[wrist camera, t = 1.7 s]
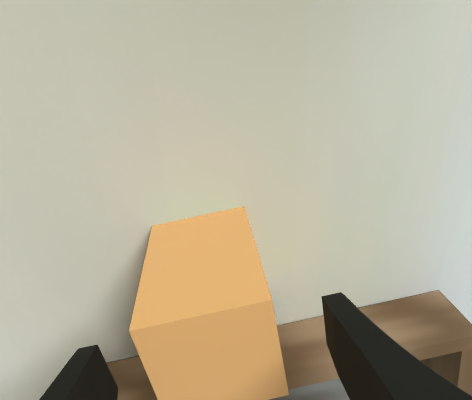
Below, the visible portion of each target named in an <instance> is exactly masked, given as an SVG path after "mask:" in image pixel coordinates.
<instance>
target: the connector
mask: <svg viewBox="0 0 472 400" xmlns="http://www.w3.org/2000/svg"><path fill="white" fill-rule="evenodd" d="M129 333H130V335H131V337H132V340H133V342H134V344H135V347H136V349H137V352H138V354H139V356H140V359H141V361H142V363H143V366H144V368H145V371H146V373H147V375H148V378H149V380H150V382H151V385H152V387H153V390H154V392H155V394H156V397H157V399H158V400H269V399H273V398H278V397H282V396H286V395H289V392H288V387H287V381H286V375H285V370H284V364H283V358H282V353H281V347H280V342H279V336H278V330H277V325H276V319H275V313H274V308H273V302H272V298H271V294H270V291H269V288H268V284H267V281H266V278H265V274H264V271H263V268H262V264H261V261H260V257H259V254H258V251H257V247H256V244H255V241H254V237H253V234H252V231H251V227H250V224H249V220H248V217H247V214H246V210H245V207H244V206H243V207H239V208H234V209H229V210H225V211H220V212H215V213H211V214H206V215H201V216H196V217H192V218H187V219H182V220H178V221H173V222H168V223H164V224H159V225H154V226H152V229H151V233H150V238H149V242H148V247H147V251H146V256H145V260H144V265H143V269H142V274H141V278H140V283H139V288H138V292H137V297H136V301H135V306H134V310H133V315H132V319H131V324H130V328H129Z"/></svg>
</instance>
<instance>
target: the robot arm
mask: <svg viewBox="0 0 472 400" xmlns="http://www.w3.org/2000/svg"><path fill="white" fill-rule="evenodd" d="M322 303H323V313H324V323H325V333H326V343H327V346H328V349H329V352H330V354H331V357H332V360H333V363H334V366H335V368H336V371H337V374H338V376H339V378H340V380H341V382H342V385H343V387H344V389H345V391H346V393H347V395H348V397H349V399H350V400H472V396H471V395H469V394H468V393H466V392H465V391H463V390H462V389H460V388H458V387H457V386H455V385H454V384H452V383H451V382H449V381H448V380H446V379H445V378H443V377H442V376H441V375H439V374H438V373H436V372H435V371H433V370H432V369H431V368H429V367H428V366H427V365H425V364H424V363H422V362H421V361H420V360H419V359H417V358H416V357H415V356H413V355H412V354H411V353H409V352H408V351H407V350H406V349H404V348H403V347H402V346H401V345H399V344H398V343H397V342H396V341H394V340H393V339H392V338H391V337H390V336H389V335H387V334H386V333H385V332H384V331H383V330H381V329H380V328H379V327H378V326H377V325H376V324H375V323H373V322H372V321H371V320H370V319H369V318H368V317H367V316H366V315H365V314H364V313H362V312H361V311H360V310H359V309H358V308H357V307H356V306H355V305H354V304H353V303H352V302H351V301H350V300H349V299H348V298H347V297H346V296H345V295H344V294H342V293H336V294H331V295H327V296H322ZM117 398H118V386H117V384H116V382H115V380H114V378H113V376H112V374H111V372H110V370H109V368H108V366H107V364H106V362H105V360H104V357H103V355H102V353H101V351H100V349H99V347H98V345H93V346H89V347H84V348H79V349H78V350H77V351H76V352H75V353H74V355H73V356H72V357H71V359H70V360H69V361H68V363H67V364H66V365H65V367H64V368H63V369H62V371H61V372H60V373H59V375H58V376H57V377H56V379H55V380H54V381H53V383H52V384H51V385H50V387H49V388H48V389H47V391H46V392H45V393H44V394H43V396H42V397H41V398H40V400H117Z"/></svg>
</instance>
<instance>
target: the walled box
mask: <svg viewBox="0 0 472 400" xmlns="http://www.w3.org/2000/svg"><path fill="white" fill-rule="evenodd" d="M358 309H359V310H360V311H361V312H362V313H364V314H365V315H366V316H367V317H368V318H369V319H370V320H371V321H372V322H373V323H375V324H376V325H377V326H378V327H379V328H380V329H381V330H383V331H384V332H385V333H386V334H387V335H389V336H390V337H391V338H392V339H393V340H394V341H396V342H397V343H398V344H399V345H401V346H402V347H403V348H404V349H406V350H407V351H408V352H409V353H411V354H412V355H413V356H415V357H416V358H417V359H419V360H420V361H421V362H422V363H424V364H425V365H427V366H428V367H429V368H431V369H432V370H433V371H435V372H436V373H438V374H439V375H441V376H442V377H443V378H445V379H446V380H448V381H449V382H451V383H452V384H454V385H455V386H457V387H458V388H460V389H462V390H463V391H465V392H466V393H468V394H469V395H471V396H472V324H471V323H470V322H469V321H468V320H467V319H466V318H465V317H464V316H463V315H462V314H461V312H460V311H459V310H458V309H457V308H456V307H455V306H454V305H453V304H452V303H451V302H450V301H449V300H448V299H447V298H446V297H445V296H444V295H443V294H442V293H441V292H440V291H439V290H437V291H433V292H428V293H424V294H419V295H415V296H410V297H405V298H401V299H396V300H392V301H387V302H383V303H378V304H374V305H369V306H365V307H360V308H358ZM277 330H278V336H279V342H280V347H281V353H282V358H283V364H284V370H285V375H286V381H287V387H288V392H289V395H286V396H282V397H278V398H273V399H269V400H350V399H349V397H348V395H347V393H346V391H345V389H344V387H343V385H342V382H341V380H340V378H339V376H338V374H337V371H336V368H335V366H334V363H333V360H332V357H331V354H330V352H329V349H328V346H327V343H326V333H325V323H324V316H319V317H315V318H310V319H306V320H301V321H296V322H292V323H287V324H283V325H278V326H277ZM106 364H107V366H108V368H109V370H110V372H111V374H112V376H113V378H114V380H115V382H116V384H117V386H118V398H117V400H158V399H157V397H156V394H155V392H154V390H153V387H152V385H151V382H150V380H149V378H148V375H147V373H146V371H145V368H144V366H143V363H142V361H141V359H140V356H137V357H133V358H128V359H124V360H119V361H115V362H110V363H106Z"/></svg>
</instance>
